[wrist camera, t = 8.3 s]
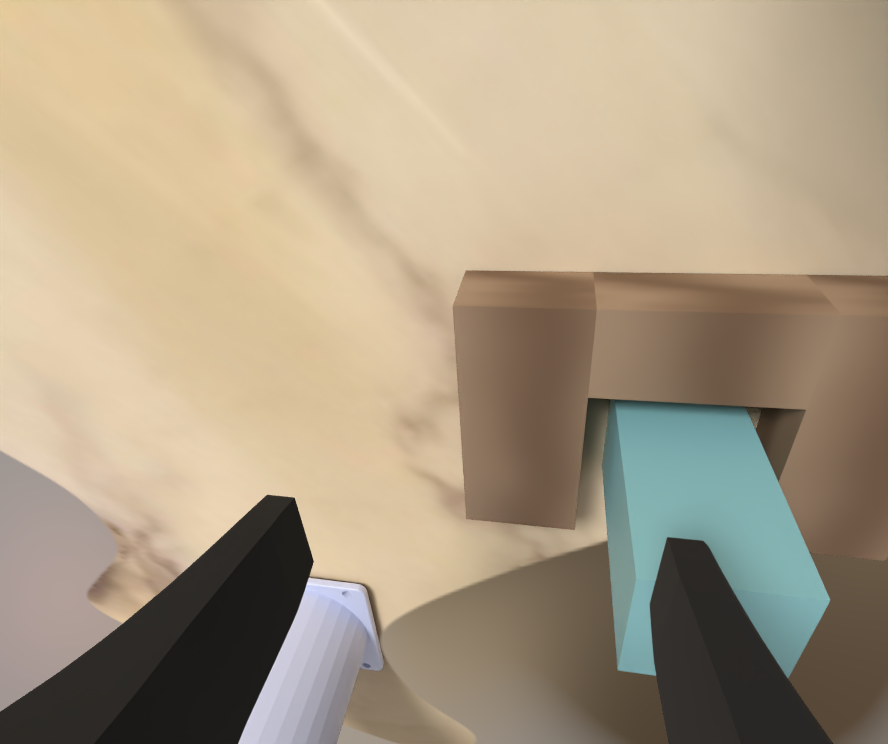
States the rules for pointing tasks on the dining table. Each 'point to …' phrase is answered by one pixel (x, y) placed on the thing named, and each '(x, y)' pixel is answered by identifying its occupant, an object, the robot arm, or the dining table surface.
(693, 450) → the peg
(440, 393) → the dining table surface
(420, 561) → the dining table surface
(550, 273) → the u-shaped block
